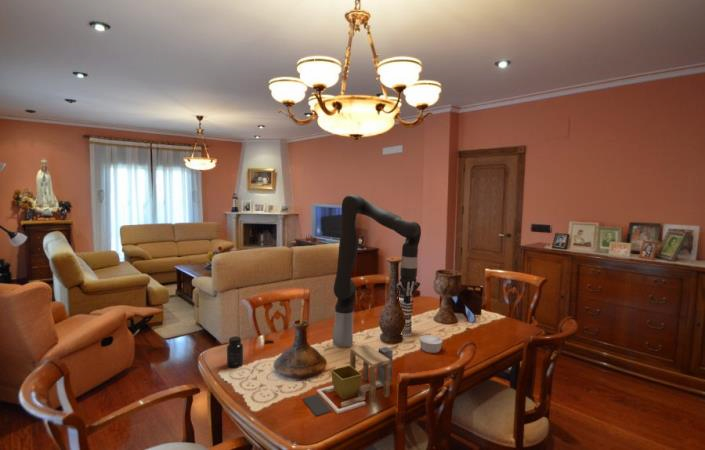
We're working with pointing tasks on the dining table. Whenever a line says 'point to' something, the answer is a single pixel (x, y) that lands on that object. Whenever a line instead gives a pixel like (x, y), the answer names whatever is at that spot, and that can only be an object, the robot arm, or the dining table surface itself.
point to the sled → (362, 389)
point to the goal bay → (320, 392)
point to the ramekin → (430, 343)
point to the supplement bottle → (235, 352)
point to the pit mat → (316, 405)
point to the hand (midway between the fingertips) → (406, 303)
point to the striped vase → (406, 314)
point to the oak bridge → (372, 367)
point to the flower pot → (346, 381)
